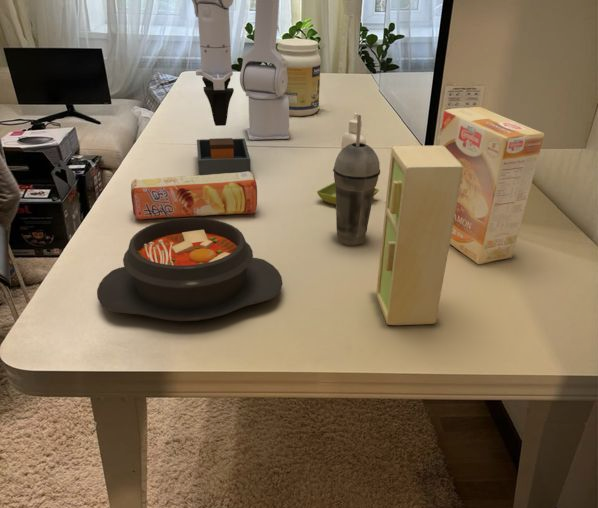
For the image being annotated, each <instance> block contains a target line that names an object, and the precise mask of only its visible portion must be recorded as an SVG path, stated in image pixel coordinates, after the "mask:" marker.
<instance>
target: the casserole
mask: <svg viewBox="0 0 598 508" xmlns="http://www.w3.org/2000/svg"><path fill="white" fill-rule="evenodd" d="M122 262H123V266H121V267H118V268H115V269H113V270H111V271H110V272H109V273H108V274H106V275H105V276H104V277H103V278H102V279H101V281H100V282H99V283H98V287H97V289H96V296H97V300H98V302H99V304H100V305H101V306H102V307H103V308H104V309H105V310H107V311H109V312H112V313H119V314H129V315H130V314H131V315H140V316H146V317H149V318H155V319H159V320H166V321H175V322H176V321H177V322H192V321H195V322H196V321H202V320H210V319H213V318H218V317H222V316H224V315H227V314H231V313H233V312H234V311H237V310H239V309H240V310H241V309H242V308H245V307H247V306H252V305H257V304H260V303H261V304H262V303H263V302H267V301H270V300H271V299H273V298H275V297H277V296H278V295H279V293H280V292H281V290H282V287H283V277H282V275H281V273H280V272H279V269H277V268H276V267H275V266H274V265H273V264H271V263H270V262H268V261H267V260H266V259H262V258H259V257H254V252H253V249H252V247H251V245H250V244H249V243H248V242H247V241H246V238H245V236H244V235H243V233H242V231H240V230H239V229H238V228H237V227H235V226H234V225H232V224H230V223H227V222H226V221H225V222H224V221H221V220H217V219H210V218H203V217H202V218H201V217H180V218H174V219H168V220H163V221H160V222H156V223H153V224H151V225H148V226H146V227H144V228H142V229H140V230H139V231H138V232H136V233H134V234H133V236H132V237H131V238H130V240H129V244H128V248H127V250H126V251H125V253H124V255H123V259H122Z"/></svg>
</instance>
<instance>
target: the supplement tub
mask: <svg viewBox="0 0 598 508" xmlns="http://www.w3.org/2000/svg"><path fill="white" fill-rule="evenodd" d="M276 50H277V51H278V52H279V53H280V54H281V55H282V56H283V57H284V59H285V60H286V62H287V76H288V82H287V88H286V91H285V93H284V94H283V95H282V96H287V97H288V101H289V116H292V117H304V116H305V117H306V116H310V115H313V114H316V112H318V111H319V108H320V87H321V66H322V65H321V64H322V60H321V59H322V58H321V56H320V54H319V53H318V51H319V42H318V41H316V40H313V39H307V38H284V39H279V40H277V46H276ZM273 66H275V65H274V64H273Z"/></svg>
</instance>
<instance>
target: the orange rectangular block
mask: <svg viewBox="0 0 598 508" xmlns="http://www.w3.org/2000/svg"><path fill="white" fill-rule="evenodd" d="M209 139H210V149H211V159H226V158H234V151H233V148H234V143H233V139H234V138H232V137H224V138H223V137H221V138H217V137H216V138H209Z"/></svg>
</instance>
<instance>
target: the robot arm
mask: <svg viewBox="0 0 598 508" xmlns="http://www.w3.org/2000/svg"><path fill="white" fill-rule="evenodd" d="M191 2H192V4H193V10H194V15H195V17H196V18H197V19H198V20H197V22H198V34H199V35H198V37H199V47H200V49H199V51H200V64H201V65H200V69H196V70H195V75H196V76H201V79H202V82H203V84H204V86H203V92H204V94H205V96H206V99H207V100H208V103H209V105H210V110H211V114H212V115H211V116H212V119H213V123H214V126H216V127H219V126H221V127H222V126H223V127H224V126H226V125H227V121H228V114H229V107H230V102H231V99H232V97H233V94H234V91H235V90H234V87H229V85H230V81H231V78H232V77H233V74H234V70H233V69H232V48H231V46H232V45H231V25H230V24H231V23H230V7H231V6H232V5H233V3H234V0H191ZM279 4H280V0H255V15H254V32H253V33H254V34H253V35H254V36H253V48H252V49H251V50H249V51H248V52H247V53H246V54H245V55H243V57H242V65H241V68H240V69H241V70H240V72H239V84H240V87H241V89H242V91H243V92H244V93H245V97H247V98H248V124H249V125H248V128H247V127H246V133H247V136H248V140H250V141H251V140H252V141H255V140H256V141H257V140H258V141H259V140H289V139H290V115H289V101H288V97H287V96H282V95H283V94H284V93H285V91H286V88H287V82H288V76H287V62H286V60H285V59H284V57H283V56H282V55H281V54H280V53H279V50H278V49H277V37H278V35H277V33H278V19H279V6H280V5H279ZM258 63H267V64H258ZM269 64H270V65H269ZM271 64H272V65H271ZM274 65H275V66H274Z"/></svg>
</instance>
